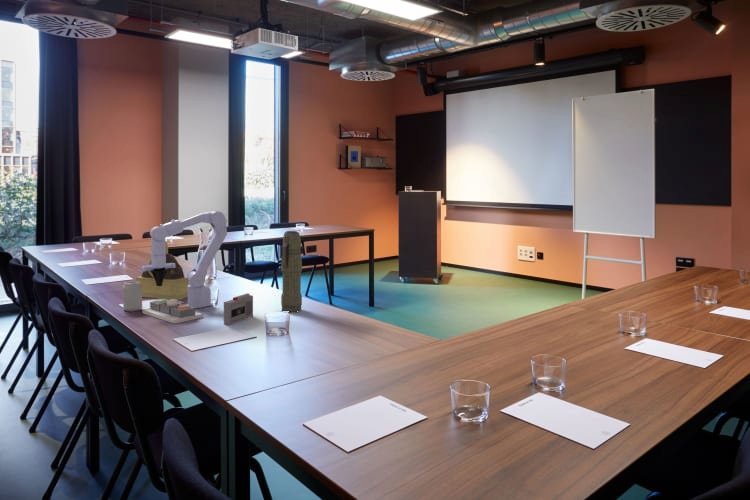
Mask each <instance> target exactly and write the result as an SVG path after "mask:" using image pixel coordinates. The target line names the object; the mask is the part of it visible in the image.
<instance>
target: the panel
mask: <svg viewBox="0 0 750 500" xmlns="http://www.w3.org/2000/svg"><path fill="white" fill-rule="evenodd" d="M180 305H184V304H182V303H179V302H177V306H171V307H169V306H167V302H166V303H160V304H159V303H157V300H152V301H149V308H145V309H142V314H144V315H147V316H150V317H154V318H156V319H159V320H162V321H165V322H168V323H171V324H177V323H183V322H188V321H193V320H197V319H202V318H203V317H204V314H203V313H201V312H197V311H196V308H194V307H190V306H188V309H183V310H179V309H178V306H180Z"/></svg>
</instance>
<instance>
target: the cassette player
mask: <svg viewBox="0 0 750 500" xmlns="http://www.w3.org/2000/svg"><path fill="white" fill-rule="evenodd" d="M252 317H254V295H250V293H244V294H241V295H238V296H235V297H232V299H230V300H226V301H224V302H223V325H226V326H230V325H231V326H232V325H234V324H236V323H239V322H242V321H245V320H247V319H250V318H252Z"/></svg>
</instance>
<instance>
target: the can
mask: <svg viewBox="0 0 750 500" xmlns="http://www.w3.org/2000/svg"><path fill="white" fill-rule="evenodd" d="M122 303H123V305H122V307H123V309H124V310H125V311H127V312H137V311H140V310H141V309H142V308H143V297H142V285H141V284H140V282H137V281H136V280H135V281H125V282H124V283H123V285H122Z"/></svg>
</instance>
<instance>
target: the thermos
mask: <svg viewBox="0 0 750 500" xmlns="http://www.w3.org/2000/svg"><path fill="white" fill-rule="evenodd" d="M301 239H302V238H301V235H300V232H299V231H296V230H287V231H285V232H284V234H283V238H282V246H281V247H282V248H281V249H282V250H281V266H280V267H281V268H280V269H281V273H282V293H281V297H280V300H281V301H280V303H281V304H280V305H281V312H283V311H289V312H296V313H298V312H297V311H300V310H301V311H302V305H303V296H302V292H301V290H302V288H301V287H302V286H301V285H302V283H301V282H302V280H301V279H302V277H301V275H302V271H303V259H302V256H301V255H302V254H301V253H302V251H301V248H302V245H301V242H302V240H301ZM301 311H300V312H301Z"/></svg>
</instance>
